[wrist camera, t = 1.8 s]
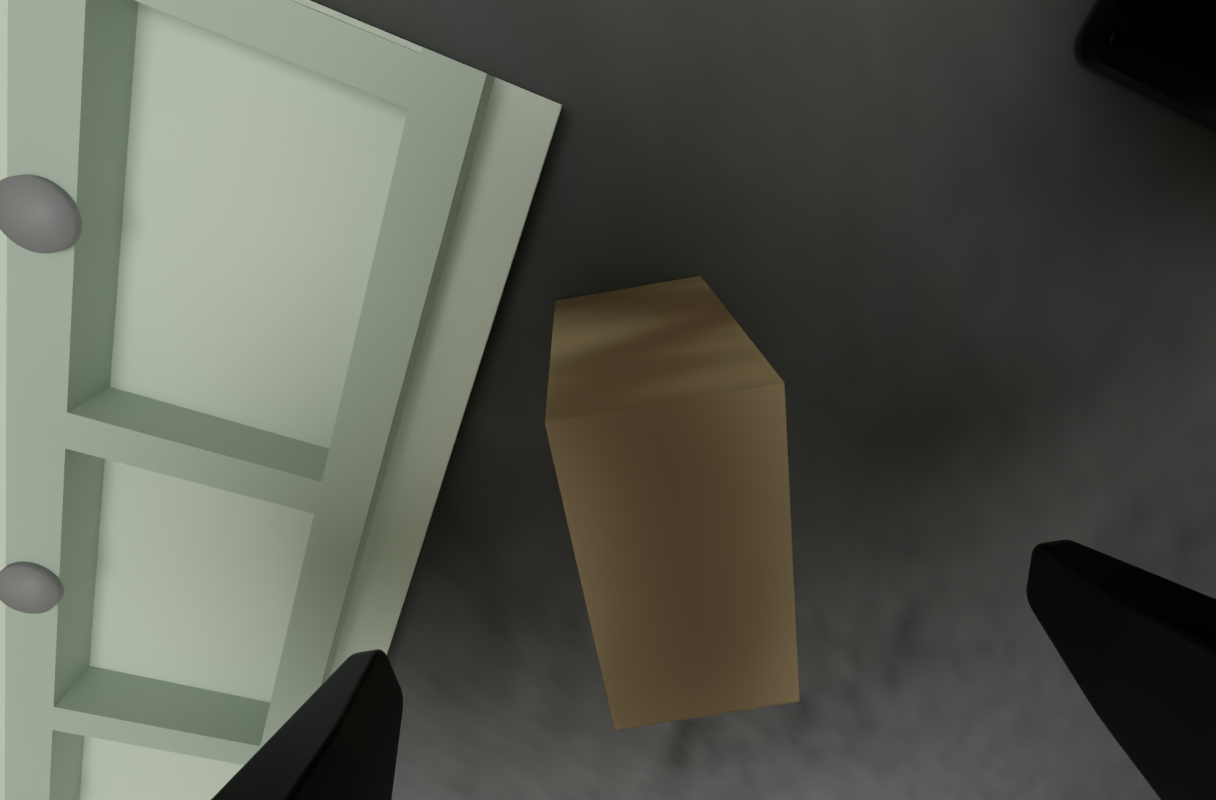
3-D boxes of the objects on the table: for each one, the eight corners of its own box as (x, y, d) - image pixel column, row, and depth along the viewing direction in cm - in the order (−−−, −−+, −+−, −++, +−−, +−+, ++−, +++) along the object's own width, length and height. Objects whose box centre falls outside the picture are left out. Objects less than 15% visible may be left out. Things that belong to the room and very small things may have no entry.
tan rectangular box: (709, 273, 14) (799, 380, 8) (730, 502, 16) (810, 699, 11) (555, 300, 14) (544, 423, 8) (600, 523, 16) (614, 730, 11)
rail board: (562, 105, 12) (560, 103, 10) (319, 866, 21) (288, 961, 19) (44, -110, 10) (-109, -174, 8) (24, 820, 20) (-51, 916, 17)
